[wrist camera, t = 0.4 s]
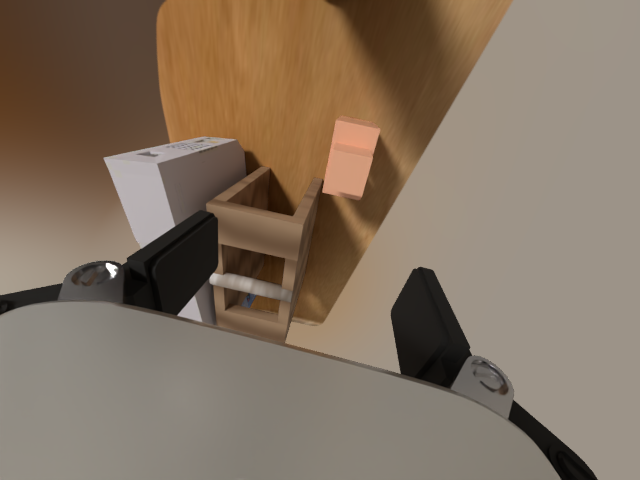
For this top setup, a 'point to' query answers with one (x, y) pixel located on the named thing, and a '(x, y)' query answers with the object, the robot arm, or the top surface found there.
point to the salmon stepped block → (350, 157)
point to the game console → (176, 193)
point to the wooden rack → (259, 254)
